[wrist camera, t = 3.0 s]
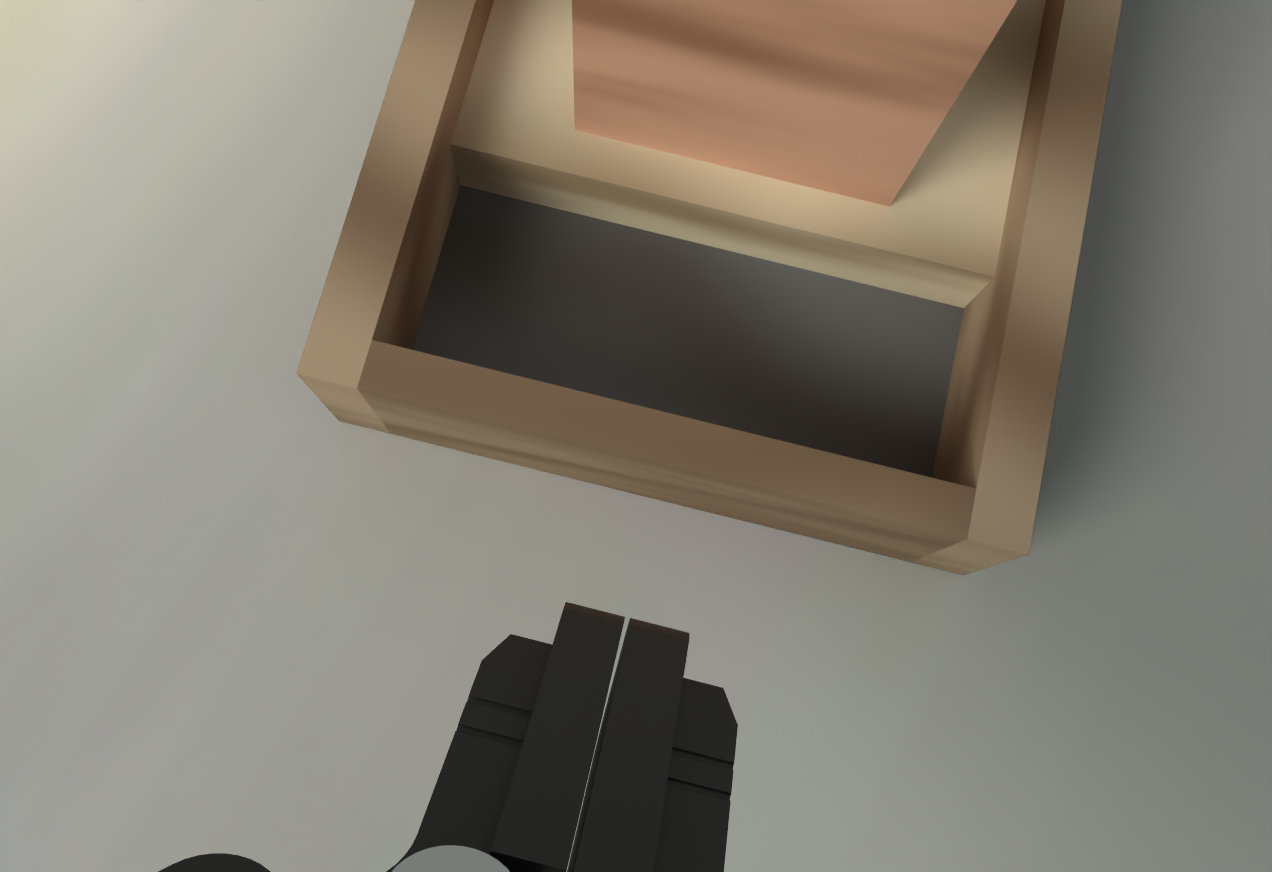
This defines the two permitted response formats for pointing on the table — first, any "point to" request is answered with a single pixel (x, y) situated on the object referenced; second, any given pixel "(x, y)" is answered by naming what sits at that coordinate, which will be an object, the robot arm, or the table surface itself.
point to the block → (780, 82)
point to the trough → (721, 292)
